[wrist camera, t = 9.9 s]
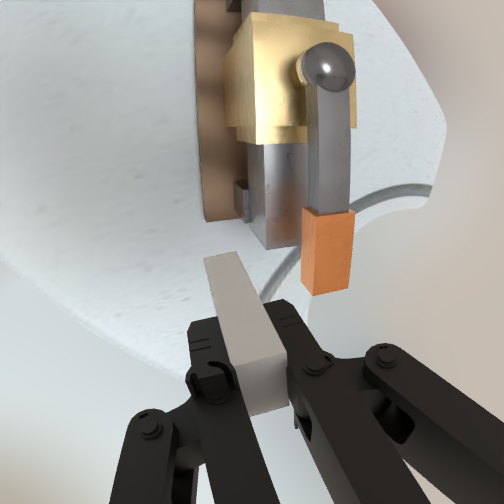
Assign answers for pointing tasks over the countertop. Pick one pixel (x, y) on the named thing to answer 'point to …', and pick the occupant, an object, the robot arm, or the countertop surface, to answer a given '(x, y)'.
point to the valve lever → (327, 168)
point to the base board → (216, 110)
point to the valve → (274, 110)
